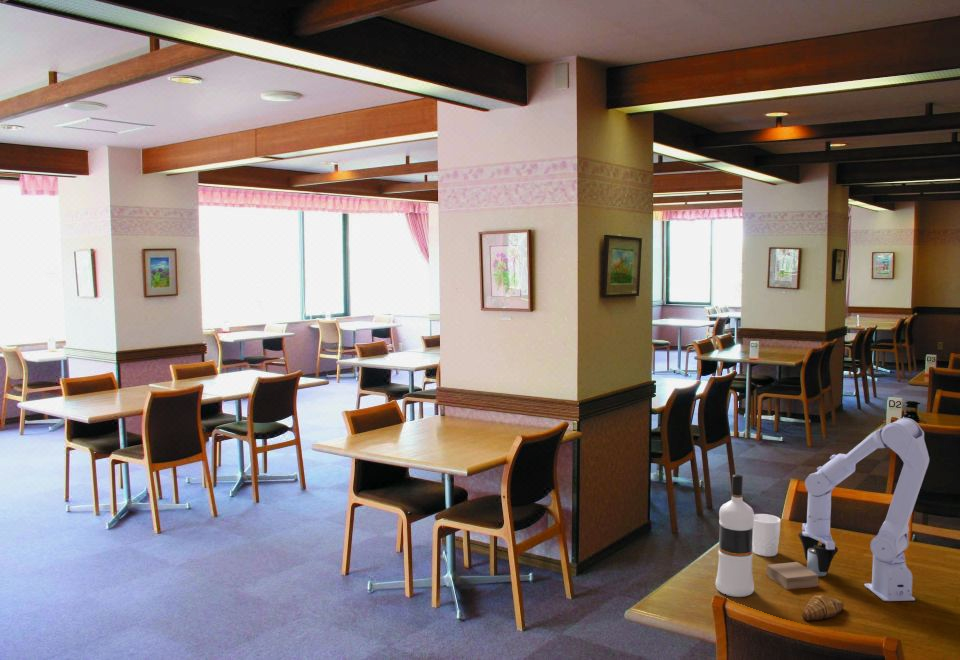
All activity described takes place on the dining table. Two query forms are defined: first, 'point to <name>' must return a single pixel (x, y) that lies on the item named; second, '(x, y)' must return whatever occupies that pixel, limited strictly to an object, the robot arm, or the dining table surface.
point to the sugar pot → (813, 562)
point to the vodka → (735, 544)
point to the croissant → (822, 608)
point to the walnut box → (792, 575)
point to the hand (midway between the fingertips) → (816, 565)
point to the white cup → (765, 534)
